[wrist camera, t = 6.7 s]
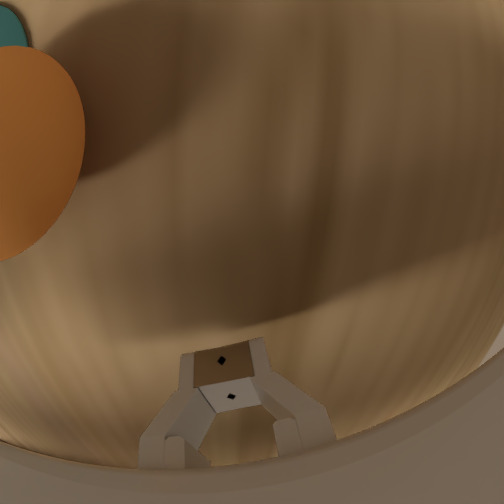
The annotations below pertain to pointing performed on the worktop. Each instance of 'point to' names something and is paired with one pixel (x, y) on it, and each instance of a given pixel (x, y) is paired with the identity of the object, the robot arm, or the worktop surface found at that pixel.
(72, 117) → the ball
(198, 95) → the worktop surface
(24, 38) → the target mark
